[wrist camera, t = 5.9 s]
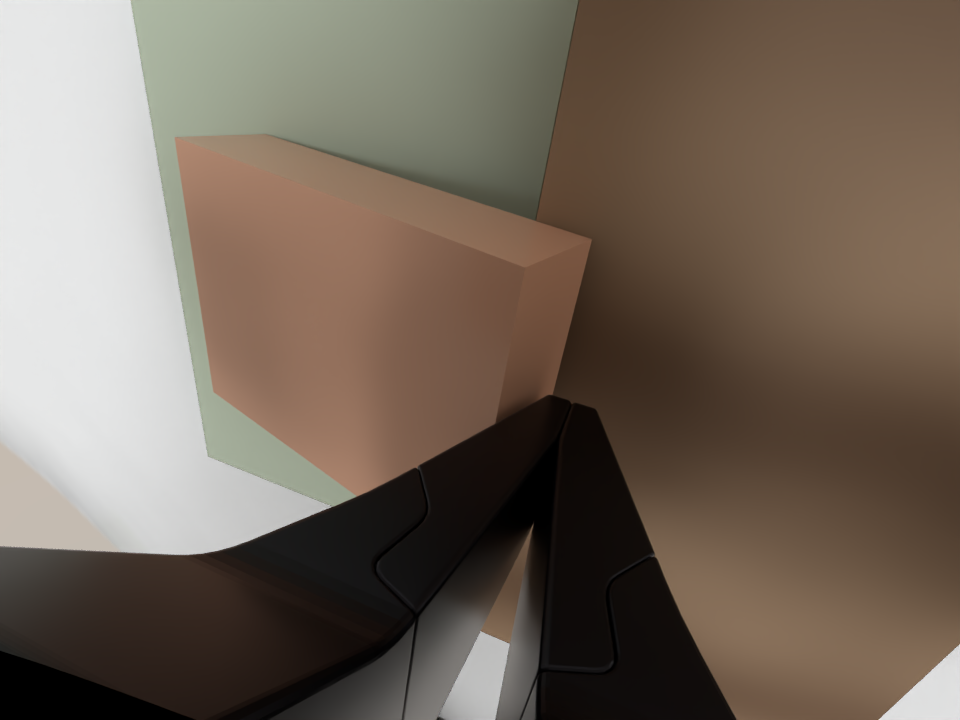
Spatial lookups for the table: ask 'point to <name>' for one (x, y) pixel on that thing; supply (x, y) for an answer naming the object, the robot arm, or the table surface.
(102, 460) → the table surface
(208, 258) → the terracotta tile
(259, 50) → the green mat
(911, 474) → the walnut stand
